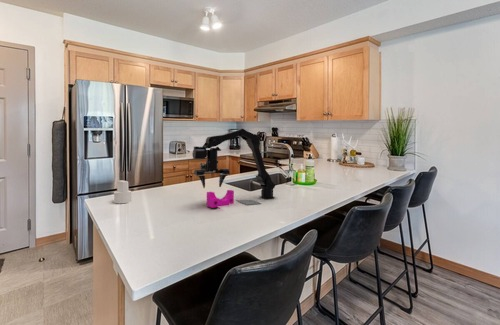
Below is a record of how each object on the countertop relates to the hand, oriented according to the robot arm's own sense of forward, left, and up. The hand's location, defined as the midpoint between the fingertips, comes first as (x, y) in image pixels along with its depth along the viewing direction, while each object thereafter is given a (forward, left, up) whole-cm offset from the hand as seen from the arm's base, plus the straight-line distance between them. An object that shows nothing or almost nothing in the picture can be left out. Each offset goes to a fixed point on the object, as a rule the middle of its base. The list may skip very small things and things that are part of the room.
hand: (212, 187), depth 146 cm
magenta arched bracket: (-4, +3, -10) cm, 11 cm away
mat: (-20, +2, -9) cm, 23 cm away
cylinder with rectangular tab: (+43, -30, -10) cm, 53 cm away
